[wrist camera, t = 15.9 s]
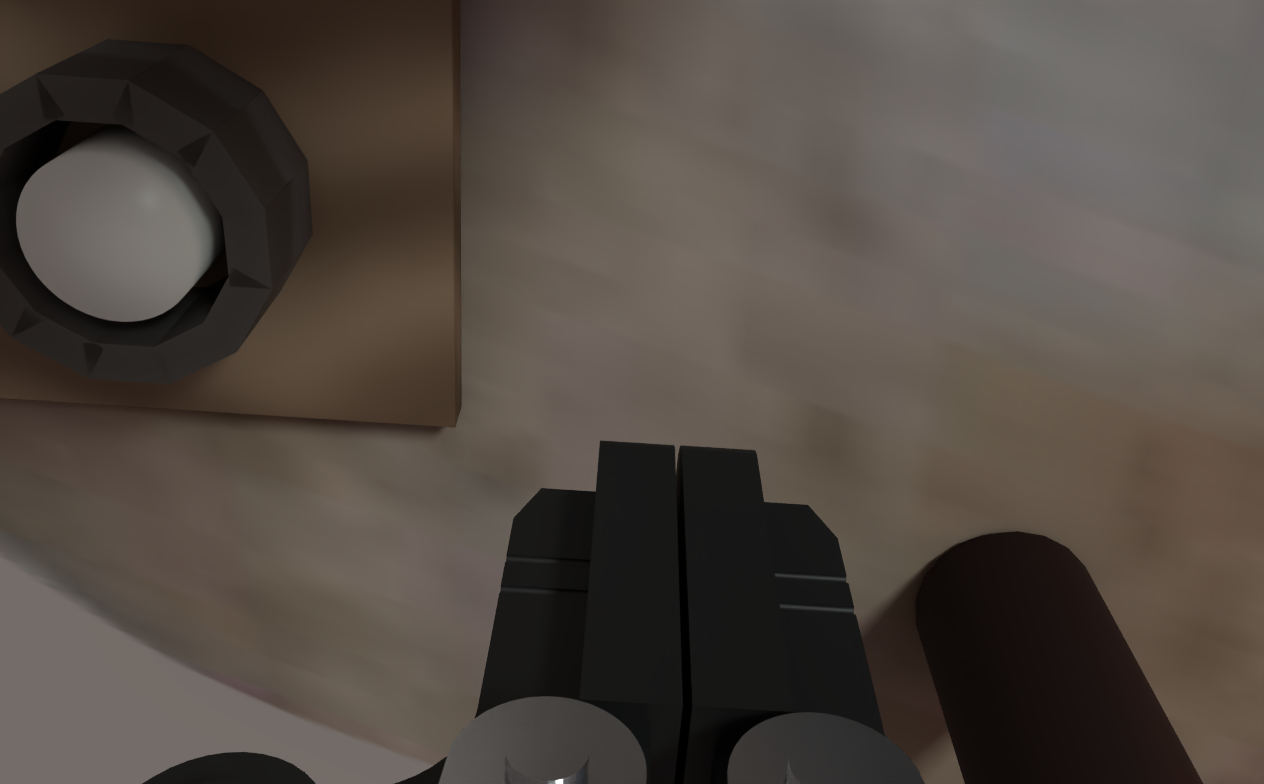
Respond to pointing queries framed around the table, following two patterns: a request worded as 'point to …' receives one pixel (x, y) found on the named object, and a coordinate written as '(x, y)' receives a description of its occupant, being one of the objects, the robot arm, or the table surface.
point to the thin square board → (253, 202)
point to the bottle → (1039, 671)
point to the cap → (118, 226)
